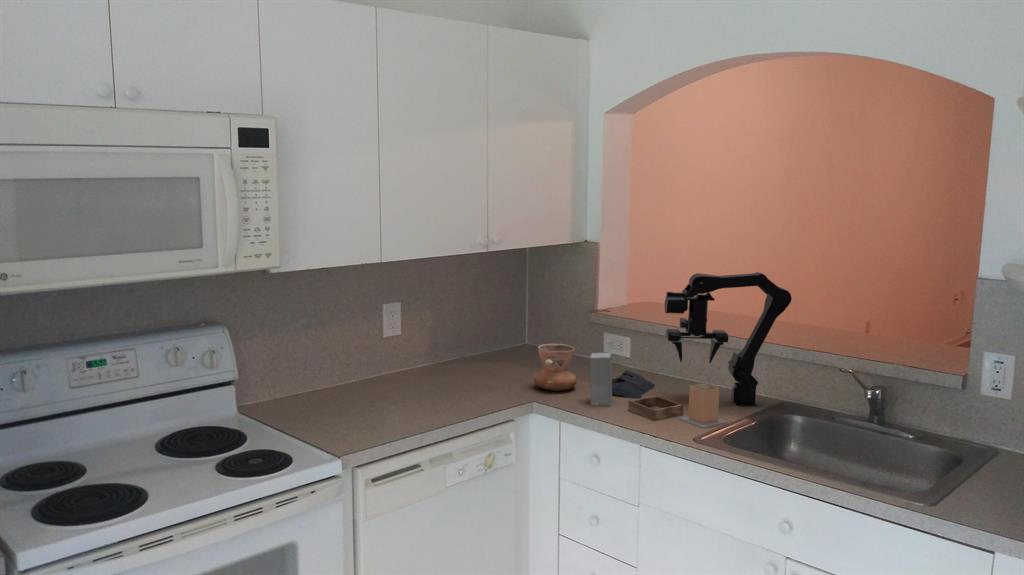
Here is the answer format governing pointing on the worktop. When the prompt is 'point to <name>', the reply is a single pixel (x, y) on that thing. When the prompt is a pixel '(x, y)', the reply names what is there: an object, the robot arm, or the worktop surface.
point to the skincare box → (601, 379)
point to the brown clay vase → (555, 367)
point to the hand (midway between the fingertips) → (695, 362)
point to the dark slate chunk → (630, 385)
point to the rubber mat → (703, 424)
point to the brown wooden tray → (655, 408)
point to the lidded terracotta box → (703, 403)
